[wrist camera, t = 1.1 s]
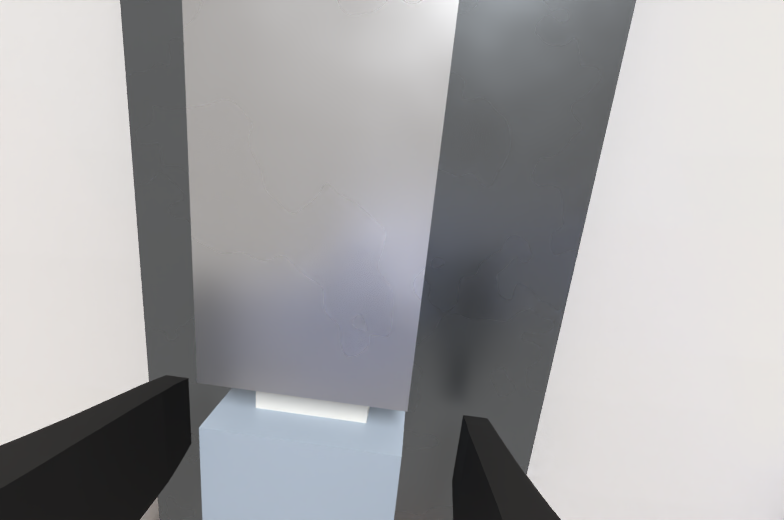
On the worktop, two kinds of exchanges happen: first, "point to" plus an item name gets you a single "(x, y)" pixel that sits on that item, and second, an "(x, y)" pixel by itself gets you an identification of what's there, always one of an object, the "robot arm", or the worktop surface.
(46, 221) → the worktop surface
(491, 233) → the sleeve base
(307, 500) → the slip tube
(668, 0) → the worktop surface
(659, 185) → the worktop surface
